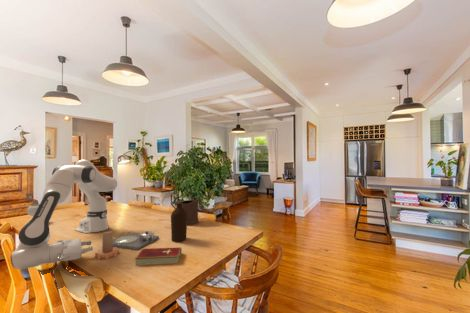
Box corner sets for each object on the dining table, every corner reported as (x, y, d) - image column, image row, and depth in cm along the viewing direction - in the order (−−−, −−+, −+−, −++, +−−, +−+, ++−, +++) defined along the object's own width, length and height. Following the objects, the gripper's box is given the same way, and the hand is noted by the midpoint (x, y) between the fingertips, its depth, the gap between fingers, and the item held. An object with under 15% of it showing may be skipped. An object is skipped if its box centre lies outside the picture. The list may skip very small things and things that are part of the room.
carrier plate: (104, 245, 131) (104, 236, 131) (129, 234, 150) (129, 226, 150) (137, 250, 124) (137, 240, 124) (158, 238, 143) (159, 229, 143)
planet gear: (89, 257, 114) (90, 235, 114) (108, 249, 125) (108, 228, 125) (106, 260, 111) (107, 237, 111) (124, 251, 122) (124, 230, 122)
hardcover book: (142, 255, 118) (142, 247, 118) (181, 254, 120) (181, 246, 120) (134, 266, 106) (134, 257, 106) (178, 264, 108) (178, 255, 109)
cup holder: (197, 226, 171) (197, 194, 171) (167, 225, 171) (167, 194, 172) (201, 219, 189) (201, 191, 190) (174, 219, 190) (174, 191, 190)
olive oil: (185, 242, 136) (185, 203, 136) (168, 242, 136) (168, 202, 136) (188, 236, 146) (189, 199, 147) (173, 236, 147) (173, 199, 147)
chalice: (47, 220, 184) (47, 202, 184) (52, 223, 176) (52, 204, 176) (24, 224, 173) (25, 205, 173) (29, 227, 165) (29, 207, 165)
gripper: (57, 252, 97) (93, 245, 105) (59, 239, 113) (90, 234, 122) (56, 267, 97) (93, 258, 105) (58, 251, 113) (90, 245, 121)
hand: (92, 245), depth 114 cm, fingers open, 8 cm apart
